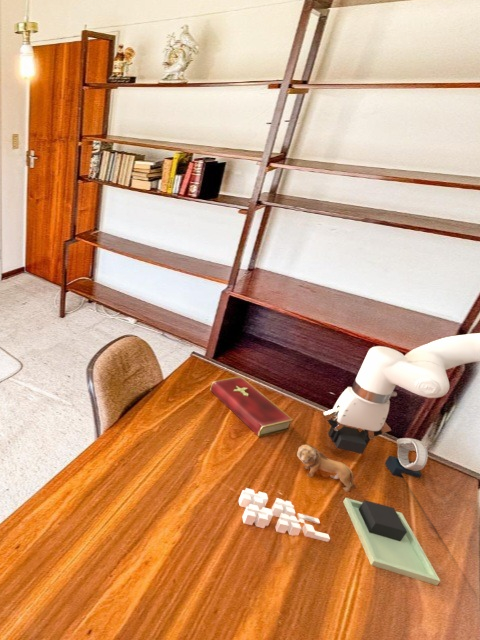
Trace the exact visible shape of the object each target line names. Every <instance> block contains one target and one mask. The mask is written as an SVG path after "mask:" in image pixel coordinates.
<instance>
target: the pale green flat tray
mask: <svg viewBox="0 0 480 640" xmlns="http://www.w3.org/2000/svg"><path fill="white" fill-rule="evenodd" d="M362 503H363V501H361V500H360V501H359V500H356V499H352V498H349V497H345V498H344V499H343V505H344V507H345V509H346V512H347V514H348V516H349V519H350V521H351V523H352V526H353V527H354V530H355V532H356V534H357V537H358V539H359V541H360V543H361V546H362V548H363V550H364V553H365V555H366V557H367V559H368V562H369V565H370V566H372V567H376V568H379V569H383V570H386V571H389V572H391V573H395V574H398V575H402V576H404V577H409V578H412V579H414V580H418V581H421V582H424V583H428V584H430V585H434V586H438V585H439V584H440V583H441V578H440V577H439V576H438V573H437V572H436V570H435V569H434V567H433V564H432V563H431V561H430V560H429V557H427V555H426V553H425V551H424V549H423V547H422V546H421V544H420V542H419V541H418V539H417V537H416V535H415V534H414V531H413V530H412V528H411V527H410V525H409V523H408V521H407V520H406V517H405V516H404V513H403V512H400V511H396V513H397V514H398V516H399V518H400V520H401V522H402V523H403V525H404V527H405V529H406V531H407V533H406V534H405V536H404V537H403V538H402V540H401V541H397V540H394V539H390V538H387V537H383V536H380V535H376V534H373V533H369V531H368V529H367V527H366V524H365V522H364V520H363V518H362V516H361V514H360V512H359V508H360V506H361V505H362Z"/></svg>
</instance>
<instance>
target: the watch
mask: <svg viewBox="0 0 480 640" xmlns="http://www.w3.org/2000/svg"><path fill="white" fill-rule="evenodd" d="M396 443H397V444H396V448H397V456H393V455H388V458H387V459H386V461H385V462H384V465H385V467H386V469H387V470H388V471H389V472H390V475H392V476H395V477H398V478H402V479H405V477H404V475H408V476H410V477H411V476H412V477H414V478H418V479H421V477H422V476H423V474H422V473H421V470H423V469H424V468H425V466H426V465H427V463H428V459H429V457H428V455H429V453H428V448H427V447H426V445H425V443H424V442H422V441H421V440H419V439H416V438H411V437H402V438H398V439H396ZM410 451H411V452H413V451H415V452H416V458H415V460H414V461H411V460H410V459H409V454H410ZM402 474H404V475H402Z"/></svg>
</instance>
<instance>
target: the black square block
mask: <svg viewBox="0 0 480 640" xmlns="http://www.w3.org/2000/svg"><path fill="white" fill-rule="evenodd" d="M362 502H363V503H362V505H361V506H360V508H359V512H360V514H361V516H362V518H363V520H364V522H365V524H366V527H367V529H368V531H369V533H373V534H376V535H380V536H383V537H387V538H390V539H394V540H397V541H401V540H402V538H403V537H404V536H405V534H406V533H407V531H406V529H405V527H404V525H403V523H402V522H401V520H400V518H399V516H398V514H397V513H396V512H397V511H396V509H395V508H394V507H392V506H388V505H384V504H381V503H377V502H373V501H370V500H366V499H364V500H363V501H362Z"/></svg>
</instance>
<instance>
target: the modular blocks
mask: <svg viewBox="0 0 480 640" xmlns="http://www.w3.org/2000/svg"><path fill="white" fill-rule="evenodd" d="M268 501H269V497H268V494H267V493H266V492H264V491H263V492H262V491H258V492H257V493H255V489H251V488H248V487H245V489H242V491H241V493H240V496H239V498H238V504H239V507H241V508H243V509H244V511H243V514H242V516H241V518H242V522H243V524H245V525H249V526H253V524H254V525H255V527H257V528H261V529H265V527H269V525H270V523H271V521H272V519H273V517H276V518H278V519H277V520H276V521H275V522H276V524H275V526H274V529H275V532H276V533H280V534H286V533H288V536H291V537H295V536H299V534H300V533H301V531H302V533H303V536H304V537H306V538H307V537H308V538H311V539H315V540H319V541H323V542H326V543H329V542H330V541H331V537H330V535H329V534H328V533H325V532H321V531H318V530H315V528H314V525H313V524H309V523H306V522H305V521H307V522H310V523H314V524H317V525H320V524H321V522H320V519H319V518H317V517H314V516H311V515H307V514H303V513H300V512H296V510H295V505H293V504H292V501H290V500H284V499H282V498H279V497H275V501H274V503H273V504H272V506H271V508H268V507H266V506H267V503H268ZM296 515H297V516H296ZM300 523H301V524H303V526H301V524H300Z"/></svg>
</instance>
